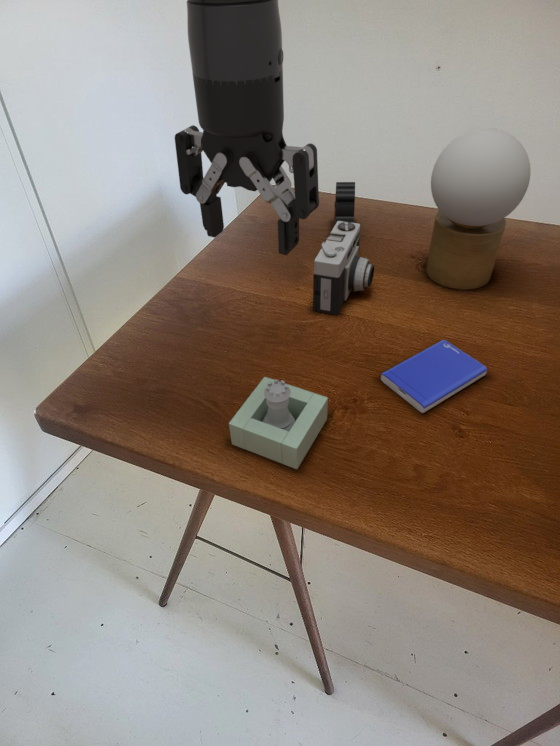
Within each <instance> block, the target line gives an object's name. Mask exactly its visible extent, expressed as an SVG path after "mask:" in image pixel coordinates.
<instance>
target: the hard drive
mask: <svg viewBox="0 0 560 746" xmlns="http://www.w3.org/2000/svg"><path fill="white" fill-rule="evenodd" d="M487 373H488V368H487V367H486V365H484V364H482V363H481V362H480V361H478V360H476V358H474V357H472V356H470V355H469V354H467V353H466V352H464V351H462V350H461V349H459V348H458V347H457V346H455V345H454V344H452V343H450V342H449V341H448V340H445V339H442V340H440V341H438V342H436V343H435V344H433V345H431V346H429V347H427V348H425V349H424V350H422V351H421V352H418V353H416V354H414V355H413V356H411V357H409V358H407V359H406V360H403V361H402V362H400V363H398V364H396V365H395V366H393V367H391V368H389V369H388V370H386V371H384V372H381V373H380V380H381V382H382V383H383V384H384V385H386V387H388V388H389V389H391V391H393V392H394V393H396V394H397V395H398V396H400V398H402V399H403V400H404V401H406V402H407V403H408V404H410V405H411V406H412V407H413V408H415V409H416V411H418V412H420V413H421V414H424V413H426V412H427V411H429V410H431V409H432V408H434V407H436V406H438V405H439V404H441V403H442V402H443V401H445V400H447V399H449V398H450V397H452V396H453V395H456V394H457V393H458V392H460V391H462V390H463V389H466V388H467V387H468V386H470V385H471V384H473V383H475V382H476V381H478V380H480V379H481V378H483V377H485V376H486V375H487Z"/></svg>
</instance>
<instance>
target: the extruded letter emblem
mask: <svg viewBox="0 0 560 746" xmlns="http://www.w3.org/2000/svg"><path fill="white" fill-rule="evenodd" d="M334 197H335V198H334V213H333V215H334V216H333V227H334V226H335V225H336V223H337V221H343V222H351V223H355V204H356V182H355V181H336V182H335V196H334Z"/></svg>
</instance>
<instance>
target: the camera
mask: <svg viewBox="0 0 560 746" xmlns="http://www.w3.org/2000/svg"><path fill="white" fill-rule="evenodd" d="M329 234H330V235H329V236H328V237H327V238H326V240H325V241H323V242H322V243H321V245H320V250H319V252H318V254H317V255H316V256H315V258H314V262H313V263H314V265H313V266H314V269H313V270H314V271H313V276H312V277H313V278H312V279H313V281H312V282H313V283H312V284H313V285H312V286H313V287H312V290H313V291H312V309H313V310H314V312H318V313H323V314H329V315H335V316H336V315H338V314H339V312H340V310H341V309H342V306H343V304H344V302H345V301H347V299H348V297H349V295H350V293H351V291H354V293H357V292H363V291H364V290H365V289H366V288H371V286H372V284H373V279H374V275H375V265H374V264H372V263H371V261H370V259H368V258H367V256H364V257H362V256H359V250H360V238H361V237H360V235H361V223H358V222H354V223H351V222H343V221H337V223H336V225H335V226H334V225H333V228H332V230H331V231H330V232H329Z"/></svg>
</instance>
